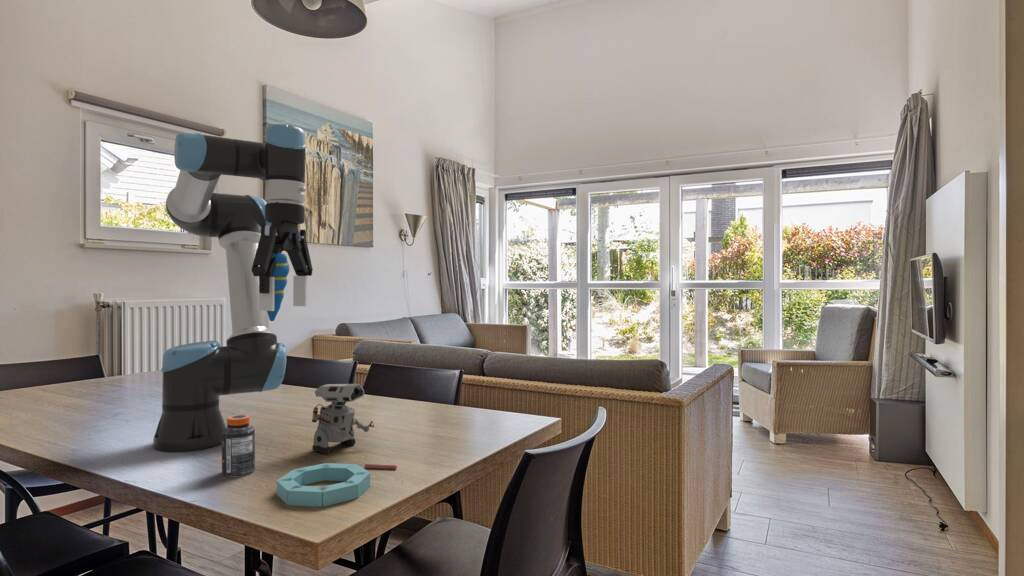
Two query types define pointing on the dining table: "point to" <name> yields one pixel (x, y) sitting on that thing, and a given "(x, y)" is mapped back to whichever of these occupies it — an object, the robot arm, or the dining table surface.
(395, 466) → the reddish pink rod
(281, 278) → the ornament
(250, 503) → the dining table surface
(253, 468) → the pill bottle
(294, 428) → the dining table surface
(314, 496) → the teal octagonal ring
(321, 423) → the figurine
